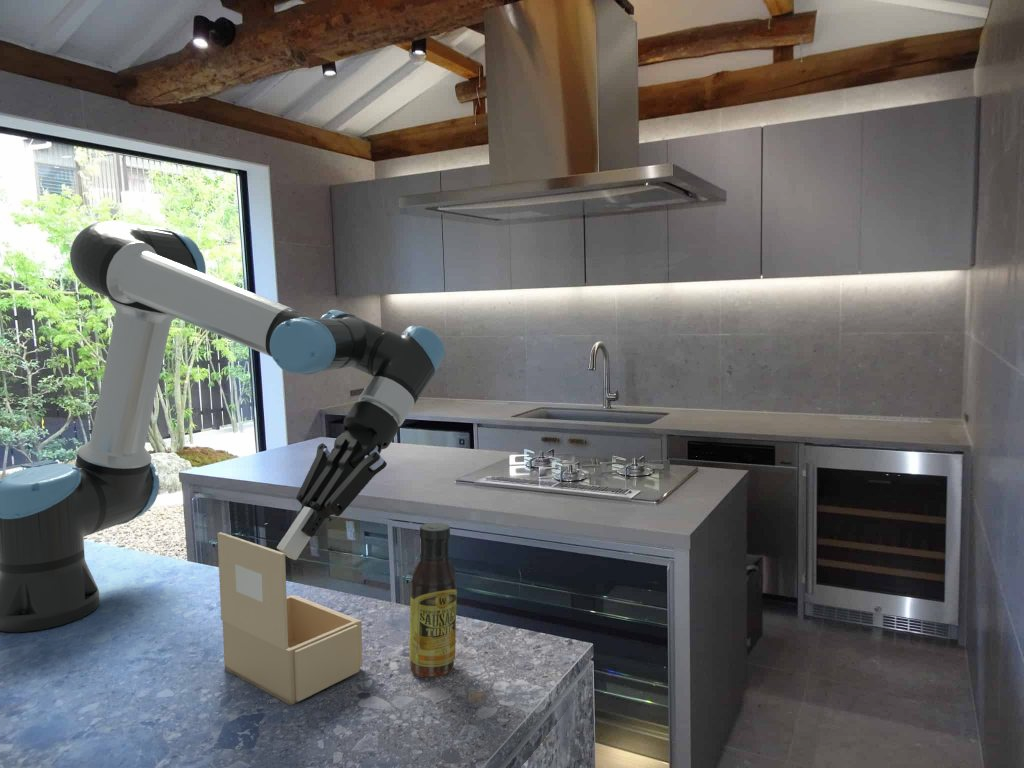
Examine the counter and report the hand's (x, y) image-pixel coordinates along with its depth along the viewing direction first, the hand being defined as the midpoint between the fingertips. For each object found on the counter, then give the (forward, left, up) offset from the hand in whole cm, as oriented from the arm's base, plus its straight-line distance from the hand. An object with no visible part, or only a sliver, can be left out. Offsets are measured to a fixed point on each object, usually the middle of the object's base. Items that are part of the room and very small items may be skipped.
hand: (286, 553), depth 95 cm
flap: (-1, -5, -10) cm, 11 cm away
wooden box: (-1, +1, -17) cm, 17 cm away
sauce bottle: (+14, +13, -17) cm, 25 cm away
